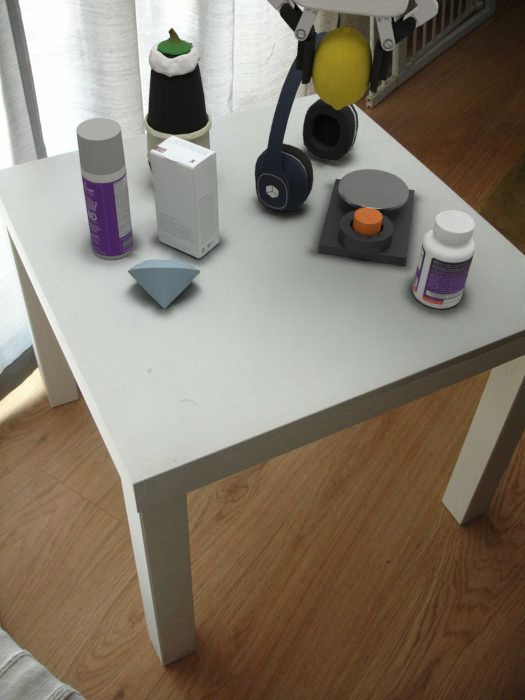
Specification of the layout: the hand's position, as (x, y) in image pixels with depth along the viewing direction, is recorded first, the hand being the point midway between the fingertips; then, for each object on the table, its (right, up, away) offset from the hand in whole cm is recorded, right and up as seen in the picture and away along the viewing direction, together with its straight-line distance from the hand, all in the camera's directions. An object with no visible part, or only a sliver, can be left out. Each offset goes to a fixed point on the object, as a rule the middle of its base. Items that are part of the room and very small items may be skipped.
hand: (340, 80), depth 73 cm
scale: (+5, -10, +22) cm, 25 cm away
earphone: (-2, -3, +29) cm, 29 cm away
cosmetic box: (-16, -13, +18) cm, 27 cm away
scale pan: (+6, -6, +22) cm, 23 cm away
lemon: (0, -2, +2) cm, 3 cm away
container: (-24, -13, +17) cm, 33 cm away
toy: (-18, -4, +27) cm, 32 cm away
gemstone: (-18, -19, +12) cm, 29 cm away
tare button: (+5, -11, +17) cm, 21 cm away
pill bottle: (+12, -19, +14) cm, 26 cm away
